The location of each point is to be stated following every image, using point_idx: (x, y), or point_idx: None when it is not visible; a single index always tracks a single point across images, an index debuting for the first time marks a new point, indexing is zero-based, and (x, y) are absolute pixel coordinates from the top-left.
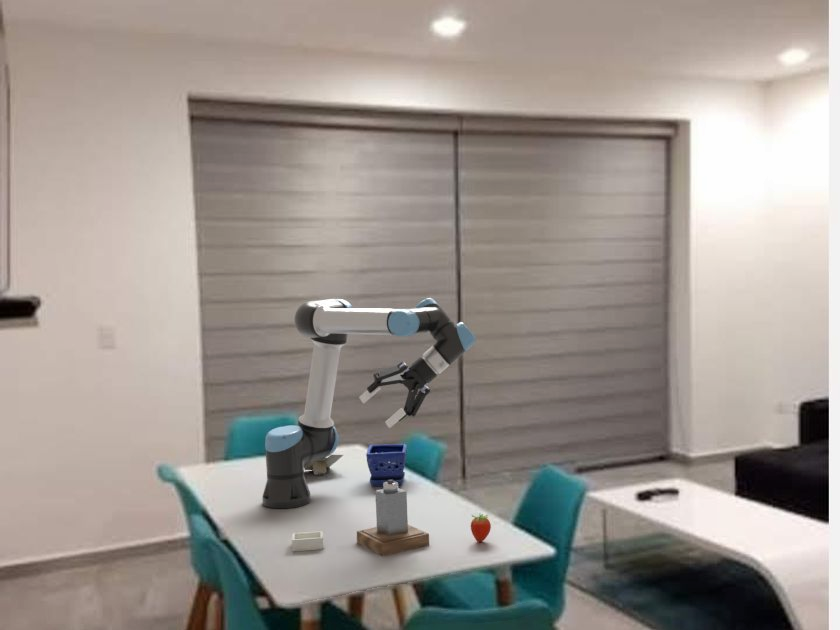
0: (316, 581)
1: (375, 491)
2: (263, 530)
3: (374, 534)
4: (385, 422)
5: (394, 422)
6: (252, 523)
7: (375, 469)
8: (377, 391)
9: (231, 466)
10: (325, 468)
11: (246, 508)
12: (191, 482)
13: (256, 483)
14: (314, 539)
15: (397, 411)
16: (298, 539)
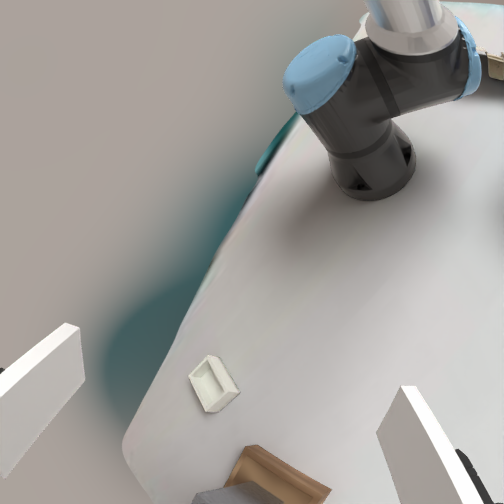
0: (148, 457)
1: (198, 493)
2: (251, 269)
3: (237, 483)
4: (396, 394)
5: (393, 468)
6: (269, 227)
7: None
8: (19, 456)
9: None
10: (502, 73)
11: (317, 156)
12: None
13: None
14: (201, 401)
15: (443, 476)
16: (191, 382)
